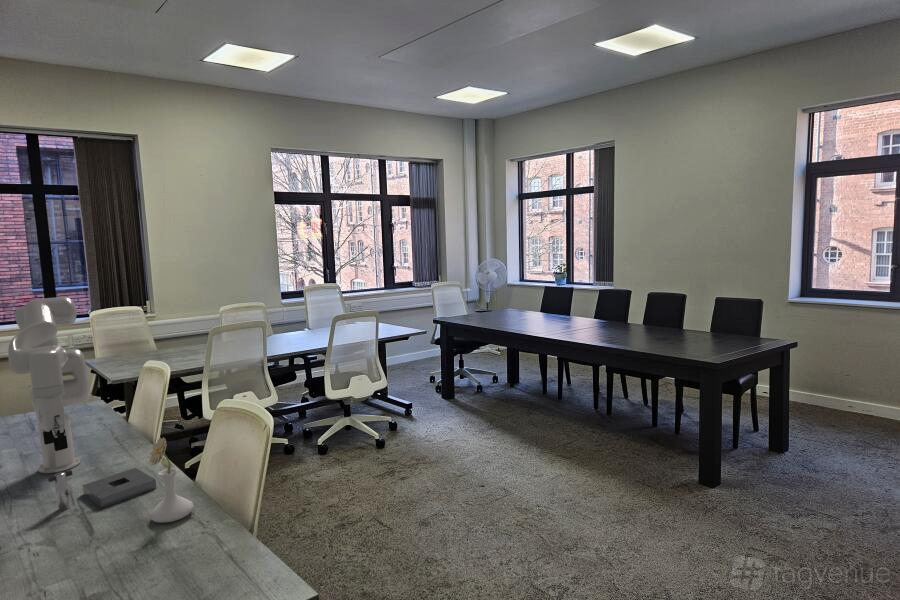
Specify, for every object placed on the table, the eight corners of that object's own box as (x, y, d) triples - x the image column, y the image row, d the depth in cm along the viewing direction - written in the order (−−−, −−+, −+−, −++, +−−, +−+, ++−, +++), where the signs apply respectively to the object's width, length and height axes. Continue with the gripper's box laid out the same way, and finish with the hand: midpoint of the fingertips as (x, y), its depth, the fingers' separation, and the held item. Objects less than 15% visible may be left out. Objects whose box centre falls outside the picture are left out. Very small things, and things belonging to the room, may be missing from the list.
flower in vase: (153, 512, 163) (143, 431, 160) (195, 503, 167) (186, 424, 164) (148, 533, 151) (138, 446, 148) (193, 523, 155) (184, 438, 152)
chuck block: (83, 494, 177) (82, 485, 177) (136, 476, 189) (135, 467, 189) (102, 507, 167) (100, 498, 167) (156, 487, 179) (155, 479, 179)
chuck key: (51, 510, 167) (46, 476, 165) (74, 502, 171) (69, 469, 170) (54, 513, 165) (49, 478, 163) (77, 505, 169) (72, 471, 168)
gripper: (25, 390, 166) (32, 444, 168) (42, 398, 155) (50, 456, 157) (54, 384, 172) (61, 437, 174) (73, 392, 161) (80, 448, 163)
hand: (56, 446), depth 166 cm, fingers open, 9 cm apart
